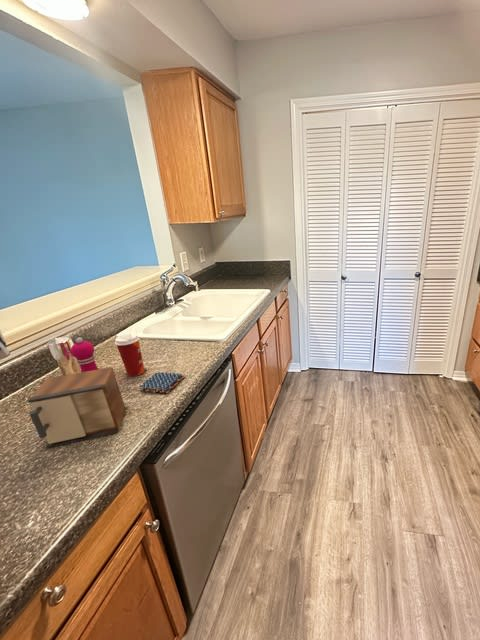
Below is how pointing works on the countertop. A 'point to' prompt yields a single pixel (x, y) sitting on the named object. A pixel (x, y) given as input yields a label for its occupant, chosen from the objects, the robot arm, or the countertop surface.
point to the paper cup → (130, 353)
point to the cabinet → (88, 400)
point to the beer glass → (64, 355)
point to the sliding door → (57, 419)
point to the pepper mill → (84, 355)
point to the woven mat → (161, 382)
